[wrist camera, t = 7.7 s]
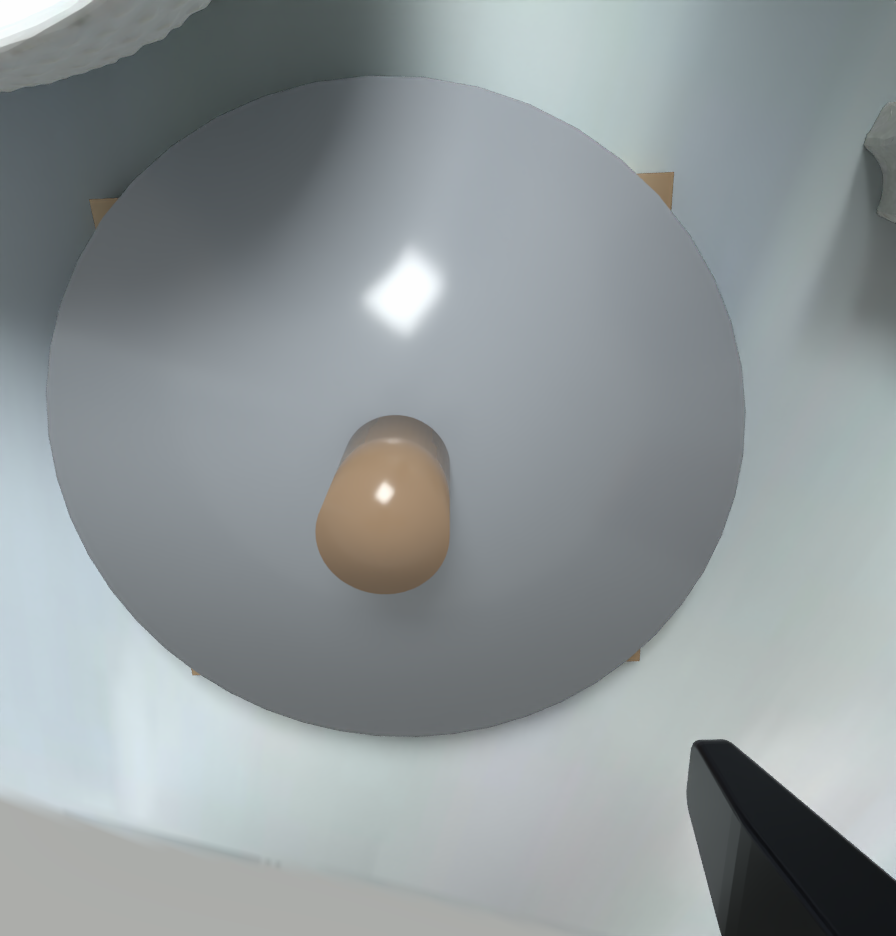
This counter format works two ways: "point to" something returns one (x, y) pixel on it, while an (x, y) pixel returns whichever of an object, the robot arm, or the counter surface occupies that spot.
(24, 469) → the counter surface
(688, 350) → the lid
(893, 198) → the egg carton
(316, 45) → the counter surface
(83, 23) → the cereal bowl
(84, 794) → the counter surface
